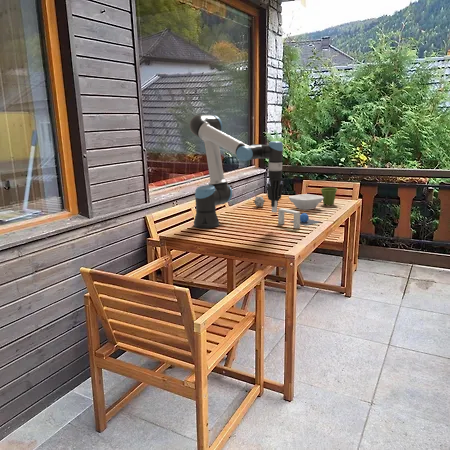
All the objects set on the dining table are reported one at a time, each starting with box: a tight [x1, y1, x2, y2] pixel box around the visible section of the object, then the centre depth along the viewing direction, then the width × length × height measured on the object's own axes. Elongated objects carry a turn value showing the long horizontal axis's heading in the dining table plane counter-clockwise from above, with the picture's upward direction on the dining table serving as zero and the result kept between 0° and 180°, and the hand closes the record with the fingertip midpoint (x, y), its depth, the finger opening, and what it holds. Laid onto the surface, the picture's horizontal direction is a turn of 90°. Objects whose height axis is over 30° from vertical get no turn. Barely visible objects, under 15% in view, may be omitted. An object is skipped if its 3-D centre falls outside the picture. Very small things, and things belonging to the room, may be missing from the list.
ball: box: [300, 212, 310, 222], centre depth 247 cm, size 6×6×6 cm
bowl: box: [288, 193, 324, 211], centre depth 285 cm, size 21×21×9 cm
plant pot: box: [320, 187, 338, 206], centre depth 298 cm, size 12×12×11 cm
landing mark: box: [289, 218, 321, 226], centre depth 249 cm, size 13×13×1 cm
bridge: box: [277, 207, 301, 229], centre depth 240 cm, size 3×14×9 cm, turn 37°
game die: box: [253, 195, 266, 208], centre depth 296 cm, size 9×8×10 cm
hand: (274, 211), depth 232 cm, fingers closed
